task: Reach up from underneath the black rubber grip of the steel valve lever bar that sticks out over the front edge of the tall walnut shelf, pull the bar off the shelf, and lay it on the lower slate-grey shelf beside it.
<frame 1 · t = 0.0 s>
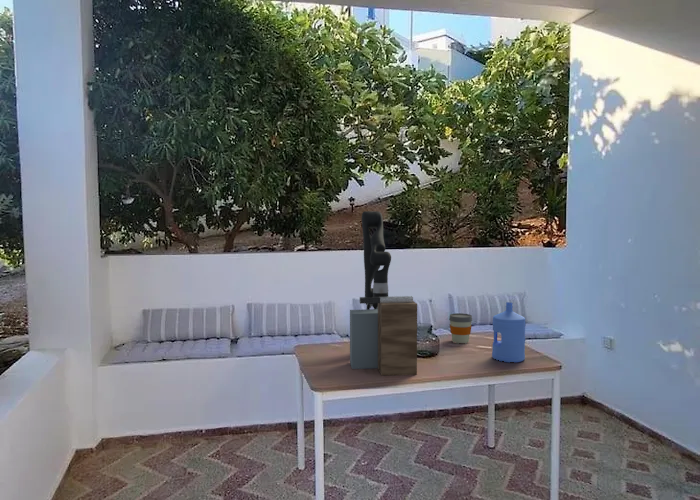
hand: (380, 324, 261), 17 cm above the table, fingers open, 8 cm apart
lever bar: (386, 302, 237), point 32 cm above the table, touching tall shelf
low shelf: (371, 365, 250), on the table
reusable coffee cup: (460, 342, 295), on the table
tall shelf: (396, 371, 240), on the table
water jug: (508, 359, 261), on the table
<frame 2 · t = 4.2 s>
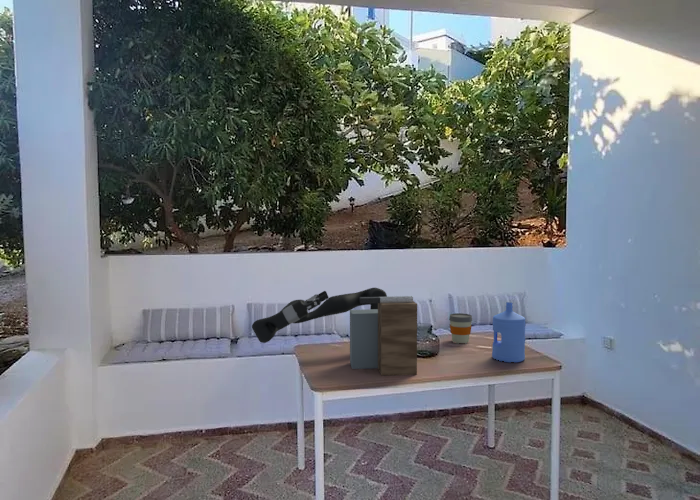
hand: (327, 293, 234), 36 cm above the table, fingers open, 8 cm apart
nothing on the table moved.
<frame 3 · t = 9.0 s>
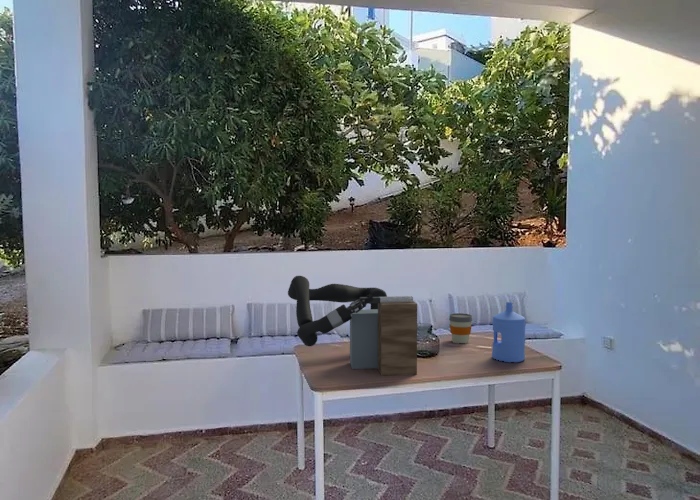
hand: (372, 296, 236), 35 cm above the table, fingers closed on lever bar, 3 cm apart
lever bar: (386, 302, 237), point 32 cm above the table, touching gripper, tall shelf
everything else where it was.
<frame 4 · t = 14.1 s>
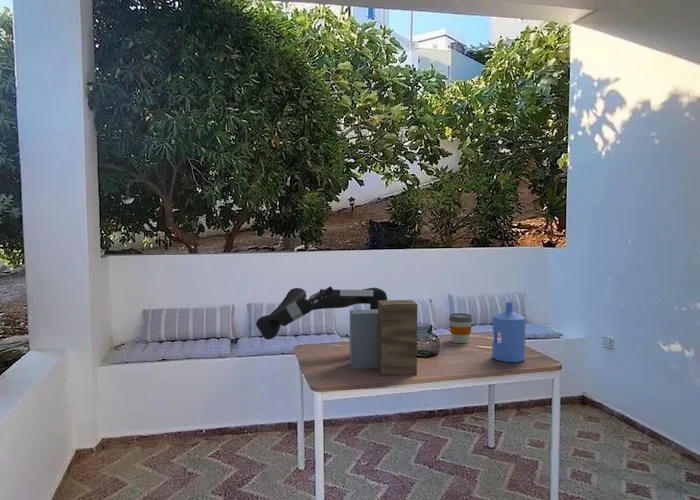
hand: (332, 288, 235), 39 cm above the table, fingers closed on lever bar, 3 cm apart
lever bar: (346, 295, 236), point 35 cm above the table, touching gripper
everything else where it was.
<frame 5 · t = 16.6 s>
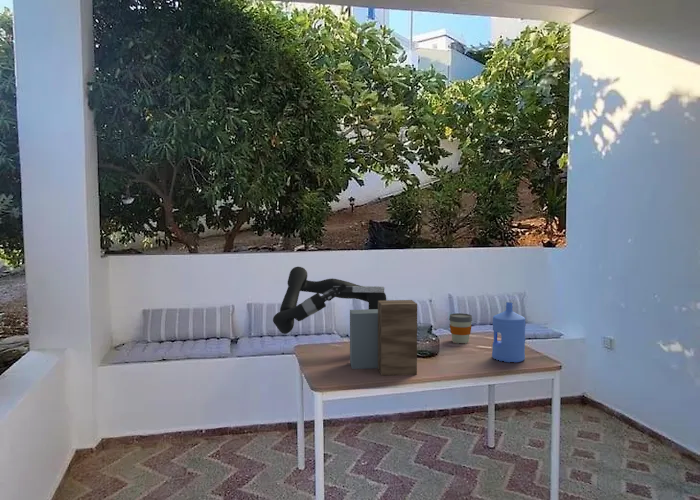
hand: (345, 285, 246), 38 cm above the table, fingers closed on lever bar, 3 cm apart
lever bar: (358, 291, 247), point 35 cm above the table, touching gripper
everything else where it was.
when the fingers open (30 cm above the table, at t = 19.0 s): lever bar drops 1 cm, resting on low shelf.
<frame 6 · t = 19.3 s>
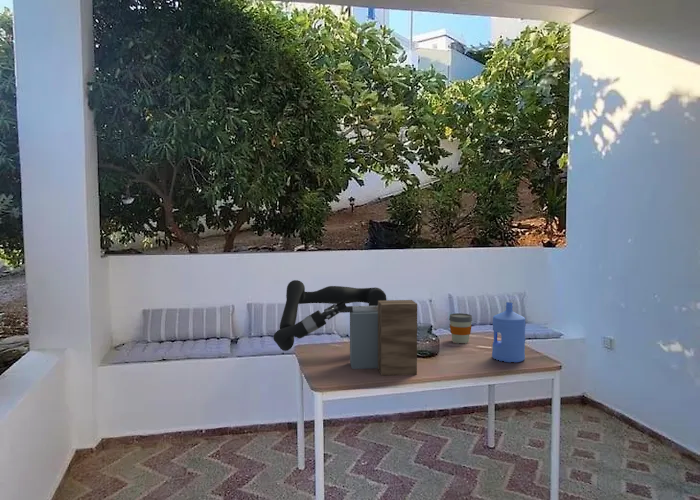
hand: (344, 303, 246), 30 cm above the table, fingers open, 6 cm apart
lever bar: (358, 311, 247), point 26 cm above the table, touching low shelf
everything else where it was.
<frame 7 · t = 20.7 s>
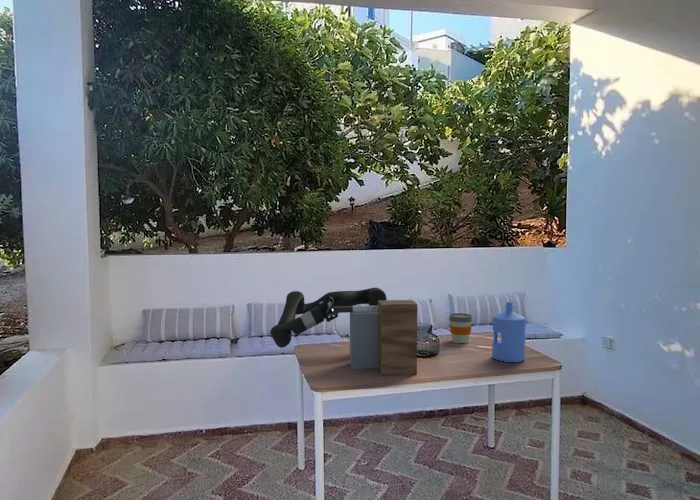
hand: (342, 301, 246), 31 cm above the table, fingers open, 8 cm apart
lever bar: (358, 311, 247), point 26 cm above the table, touching gripper
everything else where it was.
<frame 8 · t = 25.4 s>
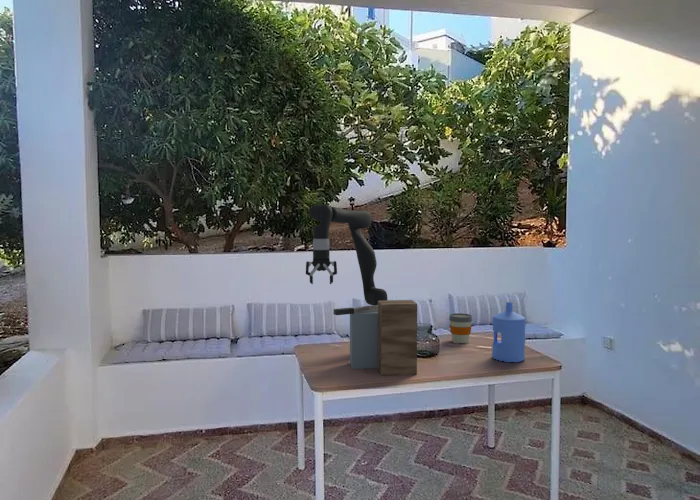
hand: (321, 283, 240), 40 cm above the table, fingers open, 8 cm apart
lever bar: (358, 312, 245), point 26 cm above the table, touching low shelf
everything else where it was.
at the end: lever bar inside the target area on the low shelf (3.3 cm from its centre), point 26.0 cm above the low shelf's base; lever bar touching low shelf; the gripper is holding nothing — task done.
